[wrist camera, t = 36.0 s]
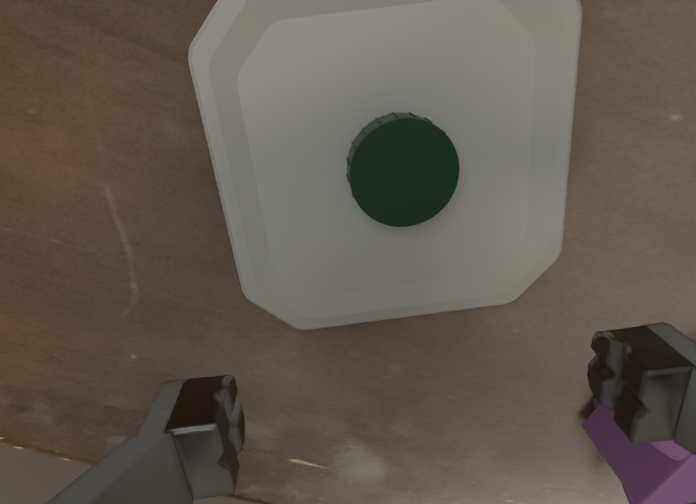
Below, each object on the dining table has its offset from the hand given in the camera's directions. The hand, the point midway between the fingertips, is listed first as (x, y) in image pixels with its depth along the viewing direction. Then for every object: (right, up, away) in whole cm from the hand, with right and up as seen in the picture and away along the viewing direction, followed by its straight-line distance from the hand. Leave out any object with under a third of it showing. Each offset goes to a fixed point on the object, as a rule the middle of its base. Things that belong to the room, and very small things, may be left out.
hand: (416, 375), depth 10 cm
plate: (+1, +9, +18) cm, 20 cm away
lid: (+1, +7, +14) cm, 16 cm away
